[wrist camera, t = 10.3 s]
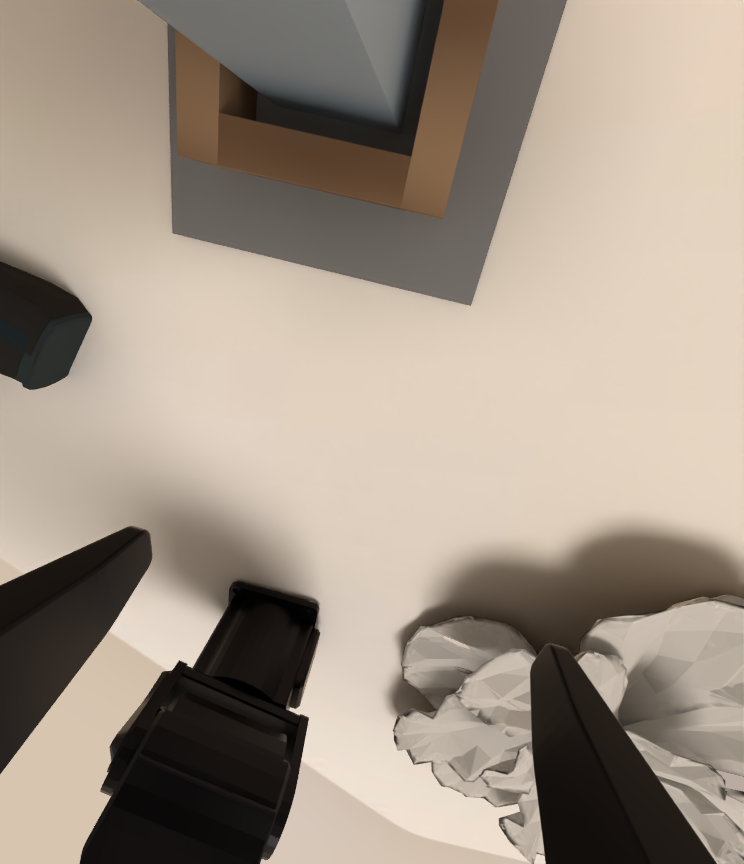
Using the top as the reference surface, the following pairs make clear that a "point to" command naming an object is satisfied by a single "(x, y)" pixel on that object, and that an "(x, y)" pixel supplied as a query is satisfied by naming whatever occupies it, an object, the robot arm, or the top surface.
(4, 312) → the handgun
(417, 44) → the tin
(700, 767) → the decorative wall flower
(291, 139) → the brown square open frame
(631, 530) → the top surface
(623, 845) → the robot arm
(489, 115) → the mat
